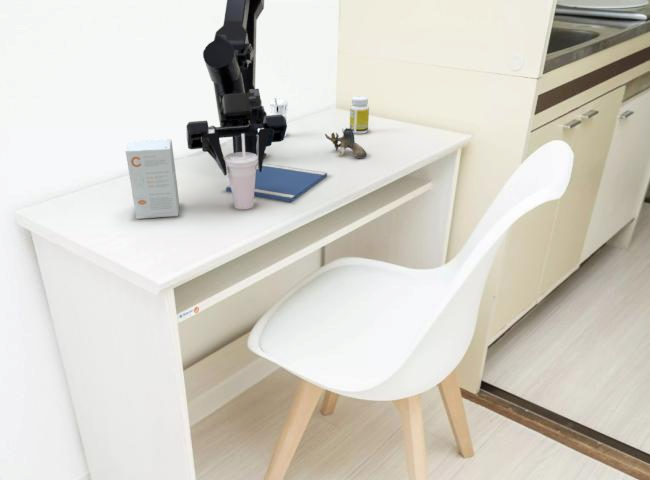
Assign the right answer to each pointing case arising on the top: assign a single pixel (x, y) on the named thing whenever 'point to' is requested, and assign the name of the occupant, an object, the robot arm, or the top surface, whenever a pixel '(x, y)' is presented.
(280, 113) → the milkshake
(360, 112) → the supplement bottle
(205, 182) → the top surface
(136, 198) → the small box
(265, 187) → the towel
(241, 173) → the smoothie
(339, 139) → the eagle figurine
